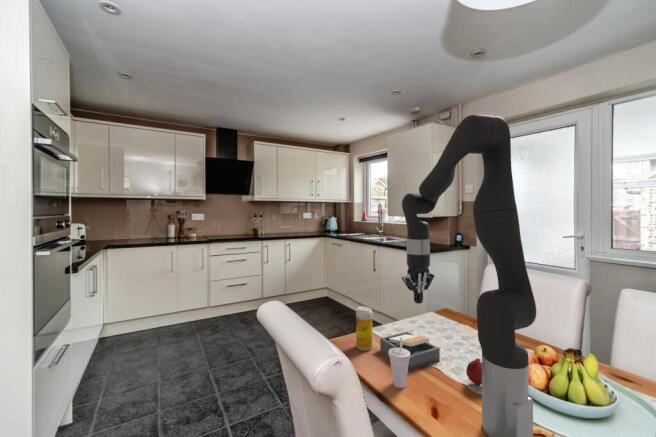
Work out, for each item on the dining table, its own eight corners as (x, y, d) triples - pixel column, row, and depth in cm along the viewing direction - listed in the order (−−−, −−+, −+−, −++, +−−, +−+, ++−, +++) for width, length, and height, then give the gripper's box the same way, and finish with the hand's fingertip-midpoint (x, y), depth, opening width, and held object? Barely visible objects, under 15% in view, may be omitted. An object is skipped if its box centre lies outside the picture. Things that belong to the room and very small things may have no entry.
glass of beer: (353, 346, 112) (353, 307, 111) (366, 342, 114) (366, 305, 114) (361, 352, 106) (361, 312, 106) (375, 349, 109) (375, 309, 108)
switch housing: (439, 361, 100) (439, 348, 99) (410, 370, 94) (410, 357, 94) (407, 342, 114) (407, 331, 114) (380, 350, 108) (380, 338, 108)
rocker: (431, 343, 100) (430, 336, 101) (409, 349, 96) (408, 342, 96) (408, 339, 111) (407, 333, 111) (387, 344, 106) (386, 338, 107)
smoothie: (411, 391, 83) (411, 343, 83) (388, 389, 84) (388, 341, 84) (409, 379, 89) (409, 334, 89) (388, 377, 90) (388, 332, 90)
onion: (476, 392, 82) (476, 364, 82) (462, 381, 88) (462, 355, 87) (493, 389, 84) (493, 361, 83) (478, 378, 89) (477, 352, 89)
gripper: (411, 255, 92) (411, 309, 93) (441, 252, 98) (441, 303, 98) (395, 252, 99) (395, 302, 99) (424, 249, 105) (424, 297, 105)
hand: (418, 302), depth 99 cm, fingers closed
